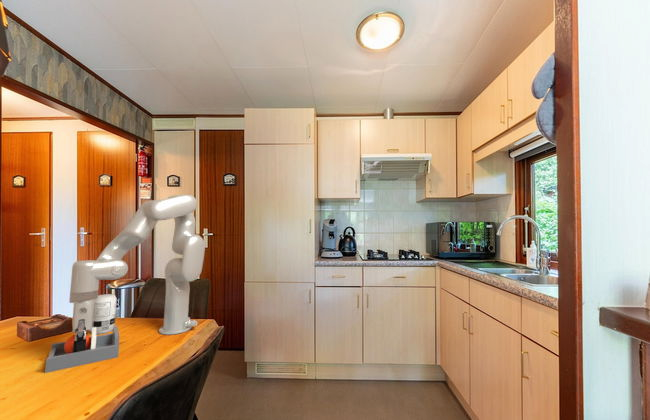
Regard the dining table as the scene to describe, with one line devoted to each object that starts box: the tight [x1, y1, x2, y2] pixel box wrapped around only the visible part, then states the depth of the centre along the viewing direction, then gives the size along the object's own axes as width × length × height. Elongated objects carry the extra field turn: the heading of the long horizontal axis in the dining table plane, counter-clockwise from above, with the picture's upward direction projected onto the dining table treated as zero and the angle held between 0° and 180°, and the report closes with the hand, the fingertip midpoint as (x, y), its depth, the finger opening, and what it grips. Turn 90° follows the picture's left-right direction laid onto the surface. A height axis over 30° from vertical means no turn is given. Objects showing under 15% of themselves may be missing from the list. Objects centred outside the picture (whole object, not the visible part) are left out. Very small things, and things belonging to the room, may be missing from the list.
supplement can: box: [89, 293, 118, 335], centre depth 121 cm, size 8×8×15 cm
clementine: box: [64, 331, 91, 354], centre depth 96 cm, size 8×7×7 cm
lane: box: [44, 325, 120, 374], centre depth 97 cm, size 18×15×7 cm
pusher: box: [90, 327, 97, 350], centre depth 98 cm, size 1×12×7 cm, turn 39°
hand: (79, 347), depth 96 cm, fingers open, 8 cm apart
